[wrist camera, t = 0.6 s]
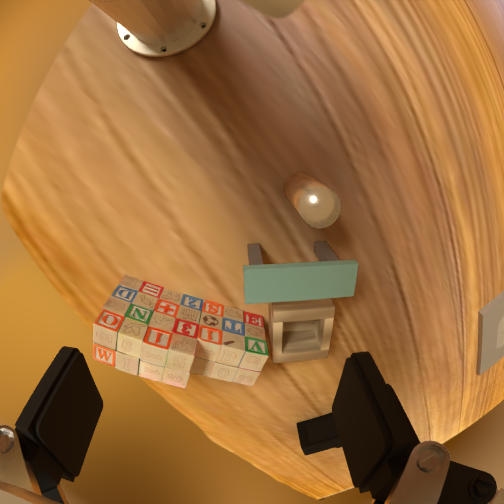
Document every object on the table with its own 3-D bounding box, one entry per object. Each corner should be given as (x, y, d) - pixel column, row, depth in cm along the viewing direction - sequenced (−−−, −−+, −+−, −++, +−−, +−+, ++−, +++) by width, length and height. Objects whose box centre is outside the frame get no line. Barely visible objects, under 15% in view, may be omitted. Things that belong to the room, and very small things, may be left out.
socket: (268, 287, 42) (273, 311, 36) (323, 284, 42) (335, 307, 37) (268, 337, 46) (272, 363, 40) (318, 333, 46) (327, 358, 40)
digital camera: (300, 433, 58) (305, 458, 52) (295, 423, 56) (300, 448, 50) (344, 420, 57) (352, 444, 51) (342, 408, 55) (350, 433, 49)
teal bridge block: (241, 235, 39) (243, 269, 30) (331, 232, 39) (358, 263, 30) (242, 263, 40) (245, 303, 31) (329, 259, 41) (353, 296, 32)
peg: (284, 172, 36) (300, 187, 27) (315, 172, 36) (341, 187, 27) (284, 203, 37) (300, 229, 28) (314, 203, 38) (339, 227, 28)
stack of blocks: (263, 314, 44) (272, 373, 33) (250, 344, 46) (254, 404, 35) (124, 273, 40) (91, 323, 29) (119, 307, 42) (91, 360, 31)
